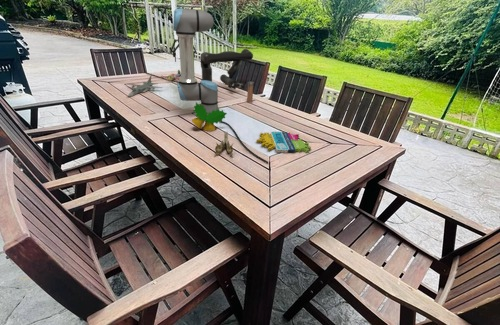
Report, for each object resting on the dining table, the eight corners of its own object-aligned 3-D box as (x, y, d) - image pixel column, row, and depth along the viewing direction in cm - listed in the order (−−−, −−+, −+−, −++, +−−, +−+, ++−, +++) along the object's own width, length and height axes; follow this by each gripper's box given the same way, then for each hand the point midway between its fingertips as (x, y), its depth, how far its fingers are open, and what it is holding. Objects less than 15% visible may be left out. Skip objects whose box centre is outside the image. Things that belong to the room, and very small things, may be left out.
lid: (246, 84, 217) (246, 81, 216) (252, 84, 218) (253, 81, 217) (248, 85, 212) (248, 82, 211) (254, 85, 214) (254, 82, 213)
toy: (193, 71, 287) (180, 75, 262) (193, 77, 291) (181, 82, 265) (170, 68, 292) (155, 72, 266) (170, 75, 296) (156, 79, 270)
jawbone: (234, 135, 144) (233, 125, 135) (233, 160, 138) (232, 151, 129) (217, 135, 144) (216, 125, 135) (216, 160, 138) (214, 150, 129)
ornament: (218, 133, 171) (224, 110, 169) (221, 134, 163) (227, 111, 161) (186, 125, 162) (192, 101, 160) (189, 126, 155) (195, 101, 153)
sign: (313, 150, 142) (258, 149, 139) (312, 153, 143) (258, 152, 140) (301, 132, 164) (254, 130, 161) (301, 134, 165) (254, 133, 162)
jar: (246, 101, 223) (247, 82, 216) (251, 100, 225) (252, 82, 217) (247, 102, 220) (248, 83, 212) (252, 102, 221) (254, 83, 213)
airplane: (122, 86, 237) (119, 75, 232) (157, 84, 250) (156, 74, 245) (126, 99, 209) (123, 86, 204) (166, 96, 222) (165, 84, 217)
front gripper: (198, 33, 207) (199, 61, 218) (165, 31, 201) (168, 60, 211) (199, 33, 201) (200, 62, 211) (165, 32, 194) (168, 62, 205)
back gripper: (225, 79, 241) (232, 83, 229) (238, 78, 248) (246, 82, 235) (225, 87, 245) (232, 92, 233) (238, 86, 251) (246, 91, 239)
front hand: (184, 61), depth 211 cm, fingers open, 13 cm apart
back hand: (239, 87), depth 234 cm, fingers open, 8 cm apart
